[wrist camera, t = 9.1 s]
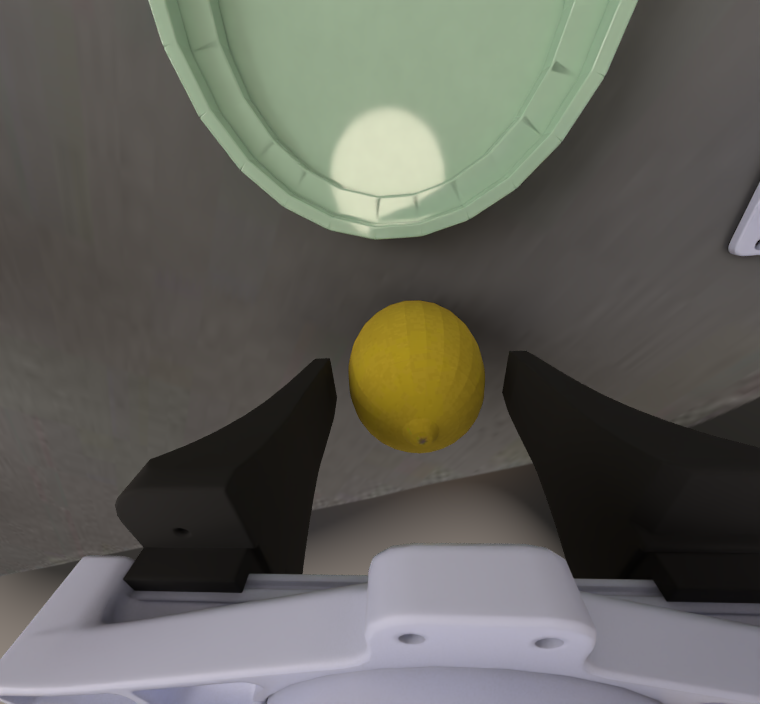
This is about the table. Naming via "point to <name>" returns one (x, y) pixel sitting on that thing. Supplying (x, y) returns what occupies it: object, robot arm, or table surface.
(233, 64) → the plate
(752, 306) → the table surface
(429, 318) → the lemon
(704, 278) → the table surface
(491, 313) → the table surface
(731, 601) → the robot arm
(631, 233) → the table surface
